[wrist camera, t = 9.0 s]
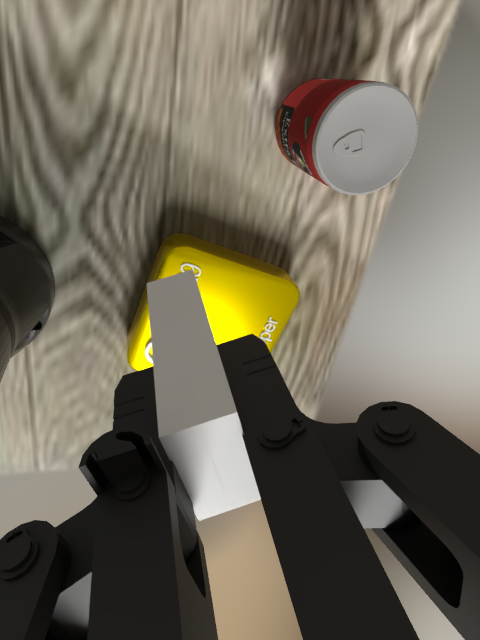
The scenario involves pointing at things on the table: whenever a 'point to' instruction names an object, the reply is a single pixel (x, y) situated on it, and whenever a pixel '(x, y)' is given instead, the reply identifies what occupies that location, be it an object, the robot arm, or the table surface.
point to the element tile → (219, 294)
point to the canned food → (348, 132)
